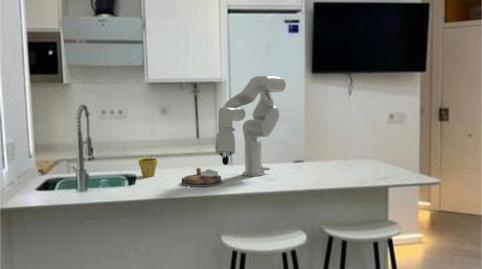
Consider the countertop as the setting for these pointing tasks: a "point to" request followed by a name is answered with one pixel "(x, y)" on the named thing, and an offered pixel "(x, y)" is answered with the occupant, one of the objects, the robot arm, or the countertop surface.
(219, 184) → the turntable base
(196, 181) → the turntable
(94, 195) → the countertop surface
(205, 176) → the cover
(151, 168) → the plant pot
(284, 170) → the countertop surface
